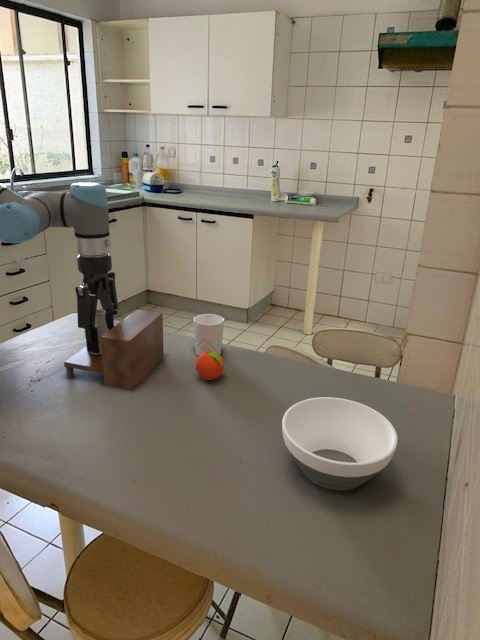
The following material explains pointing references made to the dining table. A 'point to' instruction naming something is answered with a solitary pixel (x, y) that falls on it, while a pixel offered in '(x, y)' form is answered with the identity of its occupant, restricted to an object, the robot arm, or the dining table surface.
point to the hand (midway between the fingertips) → (101, 345)
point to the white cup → (208, 333)
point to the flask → (100, 326)
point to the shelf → (125, 351)
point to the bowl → (338, 440)
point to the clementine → (210, 365)
